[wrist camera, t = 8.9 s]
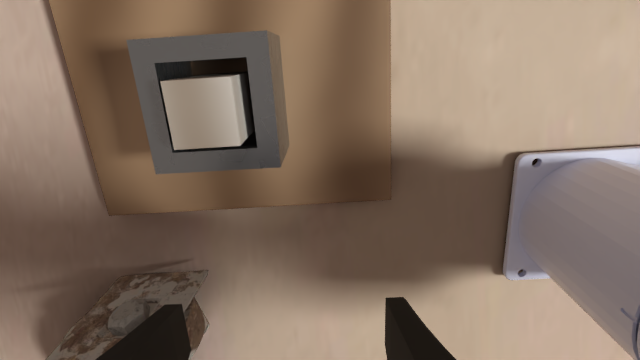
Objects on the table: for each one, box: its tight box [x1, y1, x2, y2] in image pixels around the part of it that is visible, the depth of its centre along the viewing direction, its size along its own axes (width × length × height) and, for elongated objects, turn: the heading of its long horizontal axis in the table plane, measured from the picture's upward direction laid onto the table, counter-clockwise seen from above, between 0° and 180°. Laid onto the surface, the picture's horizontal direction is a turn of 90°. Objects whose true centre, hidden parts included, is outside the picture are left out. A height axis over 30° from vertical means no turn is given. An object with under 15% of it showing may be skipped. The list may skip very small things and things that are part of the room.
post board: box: [49, 0, 391, 216], centre depth 16 cm, size 16×12×6 cm
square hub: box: [126, 30, 289, 174], centre depth 16 cm, size 5×5×4 cm
